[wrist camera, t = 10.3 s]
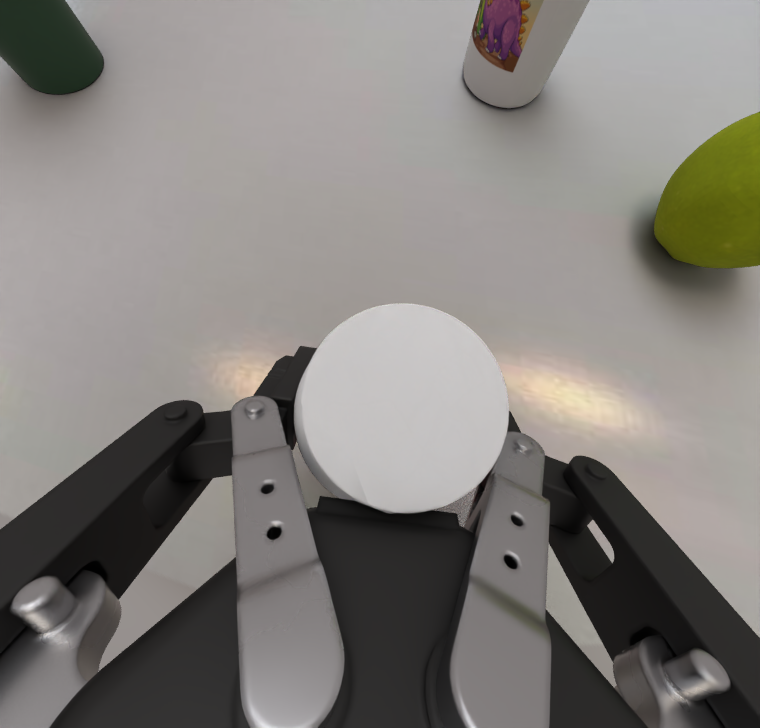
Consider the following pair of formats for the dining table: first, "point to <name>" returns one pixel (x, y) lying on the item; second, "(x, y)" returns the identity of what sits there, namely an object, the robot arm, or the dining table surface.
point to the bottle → (48, 45)
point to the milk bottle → (517, 47)
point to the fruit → (715, 201)
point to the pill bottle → (401, 409)
